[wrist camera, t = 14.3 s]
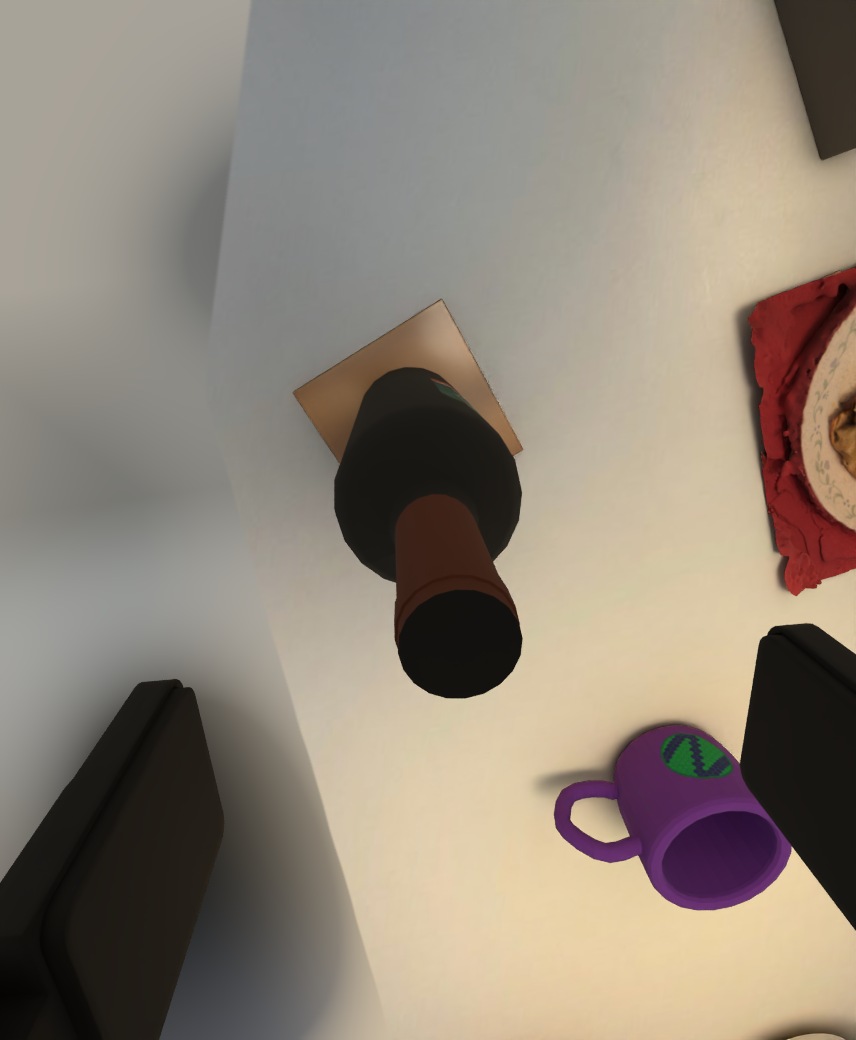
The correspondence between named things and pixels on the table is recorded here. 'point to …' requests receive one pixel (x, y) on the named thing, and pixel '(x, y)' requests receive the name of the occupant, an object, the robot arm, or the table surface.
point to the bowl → (817, 1037)
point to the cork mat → (408, 345)
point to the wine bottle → (434, 528)
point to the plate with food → (810, 424)
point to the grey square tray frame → (824, 67)
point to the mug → (684, 820)
